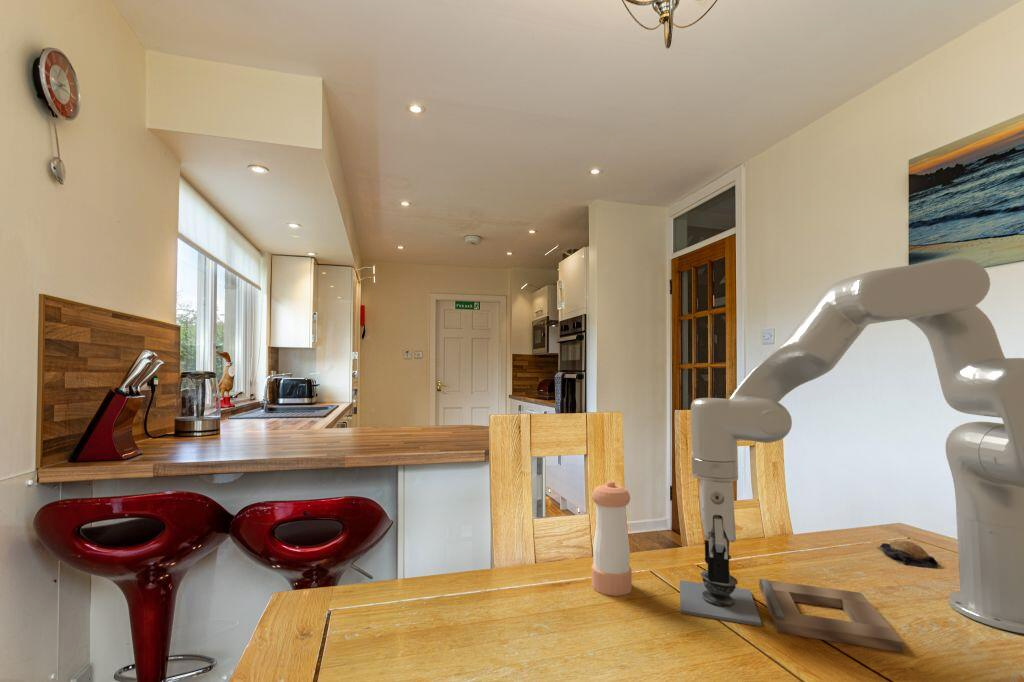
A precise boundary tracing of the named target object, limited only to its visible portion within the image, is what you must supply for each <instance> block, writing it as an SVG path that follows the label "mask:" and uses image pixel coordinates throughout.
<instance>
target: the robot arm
mask: <svg viewBox="0 0 1024 682" xmlns="http://www.w3.org/2000/svg"><path fill="white" fill-rule="evenodd" d="M990 287H991V279H990V274H989V273H988V271H987V270H986V269H985V268H984V267H983V266H982V265H981V264H979V263H978V262H976V261H973V259H972V260H971V259H968V258H963V257H950V258H943V259H936V260H931V261H926V262H921V263H914V264H908V265H902V266H901V265H900V266H897V267H896V266H895V267H889V268H882V269H877V270H871V271H867V272H863V273H861V274H857V275H854V276H850V277H848V278H843V279H841V280H839V281H837V282H835V283H833V284H832V285H831V286H830V287H828V288H827V289H826V290H825V291H824V292H823V294H822V295H821V296H820V297H819V298H818V299H817V301H816V302H815V304H813V306H812V307H811V309H810V310H809V311H808V312H807V314H806V315H805V317H804V318H803V319H802V320H801V322H799V323H798V325H797V326H796V328H795V329H793V332H792V333H791V334H790V335H789V337H788V338H787V339H786V340H785V341H784V342H783V343H782V344H780V346H779V347H778V348H776V349H774V351H773V352H771V354H770V355H769V356H767V357H766V358H765V359H764V360H763V361H762V362H760V363H759V364H758V365H757V366H756V367H755V368H754V369H753V370H752V371H750V372H749V374H748V375H747V376H746V377H745V378H744V379H743V380H742V382H741V383H740V385H738V387H737V388H736V389H735V390H734V392H733V393H732V395H731V396H730V397H729V398H723V397H722V398H721V397H720V398H719V397H699V398H695V399H694V400H693V401H692V402H691V403H690V435H691V436H690V440H691V441H690V442H691V443H690V444H691V446H690V447H691V449H690V451H691V476H692V477H693V478H695V479H698V482H699V483H698V486H699V487H698V488H699V490H698V492H699V508H700V510H699V511H700V519H701V526H702V530H703V534H704V538H705V539H704V560H705V561H704V562H705V564H707V570H708V580H709V581H711V582H718V583H725V584H728V583H729V572H730V566H729V565H730V559H729V558H728V554H727V538H728V540H729V541H731V542H732V543H734V542H736V541H737V537H736V536H737V535H736V534H737V533H736V519H735V517H736V515H735V499H734V488H733V482H736V481H738V480H739V459H738V457H739V455H738V440H743V441H751V442H757V443H761V444H762V443H764V444H766V443H767V444H769V443H775V442H778V441H780V440H783V439H784V438H785V437H786V436H788V434H789V433H790V431H791V430H792V426H793V420H792V416H791V414H790V411H789V410H788V409H787V408H786V407H785V406H784V405H782V403H780V401H781V400H782V399H783V398H785V396H786V395H787V394H789V393H790V392H793V390H795V389H796V388H798V387H799V386H800V387H801V385H803V384H804V385H805V384H806V383H809V382H810V381H813V380H815V379H819V378H821V377H822V376H824V375H826V374H828V373H829V372H830V371H832V370H833V369H834V368H835V367H836V366H837V364H838V363H839V362H840V360H841V359H842V358H843V357H844V355H845V354H846V353H847V351H848V350H849V349H850V347H851V346H852V345H853V344H854V342H855V341H856V340H857V339H858V338H859V336H861V334H862V333H863V331H865V329H866V328H867V327H868V326H869V325H872V324H880V323H885V322H886V323H887V322H893V321H902V320H903V321H904V320H907V321H908V322H910V323H912V324H913V325H915V326H916V327H917V328H919V329H920V330H921V332H923V334H924V335H925V336H926V339H927V340H928V342H929V345H930V350H931V351H932V356H933V360H934V362H935V366H936V367H935V368H936V373H937V376H938V380H939V384H940V387H941V391H942V395H943V397H944V400H945V401H946V403H947V404H948V405H949V407H951V408H952V409H953V410H955V411H957V412H960V413H963V414H967V415H974V416H975V415H976V416H982V417H991V418H999V419H1002V422H1001V423H1000V422H991V421H969V422H967V423H963V424H960V425H959V426H956V427H955V428H953V429H952V430H951V431H950V433H948V436H947V437H946V439H945V440H946V441H945V455H946V459H947V463H948V466H949V470H950V473H951V477H952V481H953V486H954V487H953V488H954V496H955V497H954V499H955V510H956V511H955V513H956V514H955V515H956V517H955V518H956V535H957V557H958V572H959V573H958V575H959V590H958V591H953V592H951V593H949V594H948V597H947V598H948V604H949V605H950V607H952V608H953V609H954V610H955V611H957V612H958V613H960V614H962V615H964V616H966V618H970V619H972V620H974V621H977V622H978V623H979V622H980V623H982V624H984V625H988V626H991V627H993V628H997V629H1000V630H1004V631H1008V632H1013V633H1018V634H1023V635H1024V357H1011V358H1010V357H1009V358H1006V356H1005V355H1004V352H1003V350H1002V347H1001V344H1000V340H999V337H998V335H997V332H996V329H995V327H994V325H993V323H992V320H990V318H989V317H988V316H987V315H986V314H985V312H984V311H983V310H981V308H979V307H978V306H977V305H978V304H980V303H981V302H982V301H983V300H984V299H985V298H986V296H987V295H988V293H989V291H990ZM712 535H715V537H712ZM726 535H727V538H726ZM723 537H724V538H723ZM712 542H715V544H712Z"/></svg>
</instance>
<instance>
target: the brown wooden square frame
mask: <svg viewBox="0 0 1024 682" xmlns="http://www.w3.org/2000/svg"><path fill="white" fill-rule="evenodd" d="M758 582H759V583H758V584H759V590H760V592H761V595H762V597H763V599H764V603H765V604H766V607H767V611H768V613H769V614H770V617H771V619H772V623H773V624H774V627H775V630H776V633H781V634H788V635H792V636H799V637H806V638H812V639H817V640H824V641H829V642H835V643H840V644H848V645H854V646H855V645H856V646H860V647H865V648H872V649H879V650H883V651H891V652H896V653H904V641H903V640H902V639H901V638H900V637H899V635H898V634H897V633H896V632H895V630H894V629H893V628H892V627H891V626H890V624H889V623H887V621H886V620H885V619H884V618H883V617H882V615H881V613H879V612H878V611H877V609H876V608H875V607H874V605H872V603H871V602H870V601H869V600H868V598H866V596H865V595H864V594H863V593H862V592H860V591H859V592H858V591H852V590H851V591H850V590H844V589H836V588H829V587H821V586H814V585H813V586H812V585H807V584H801V583H799V584H798V583H792V582H785V581H784V582H783V581H776V580H768V579H765V578H761V579H760V578H759V581H758ZM796 603H803V604H808V605H809V604H810V605H817V606H822V607H829V608H836V609H842V611H844V613H845V614H846V616H847V617H848V619H849V621H848V620H843V619H842V620H841V619H836V618H829V617H825V616H824V617H823V616H817V615H809V614H803V613H801V612H800V611H799V609H798V607H797V606H796Z"/></svg>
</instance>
